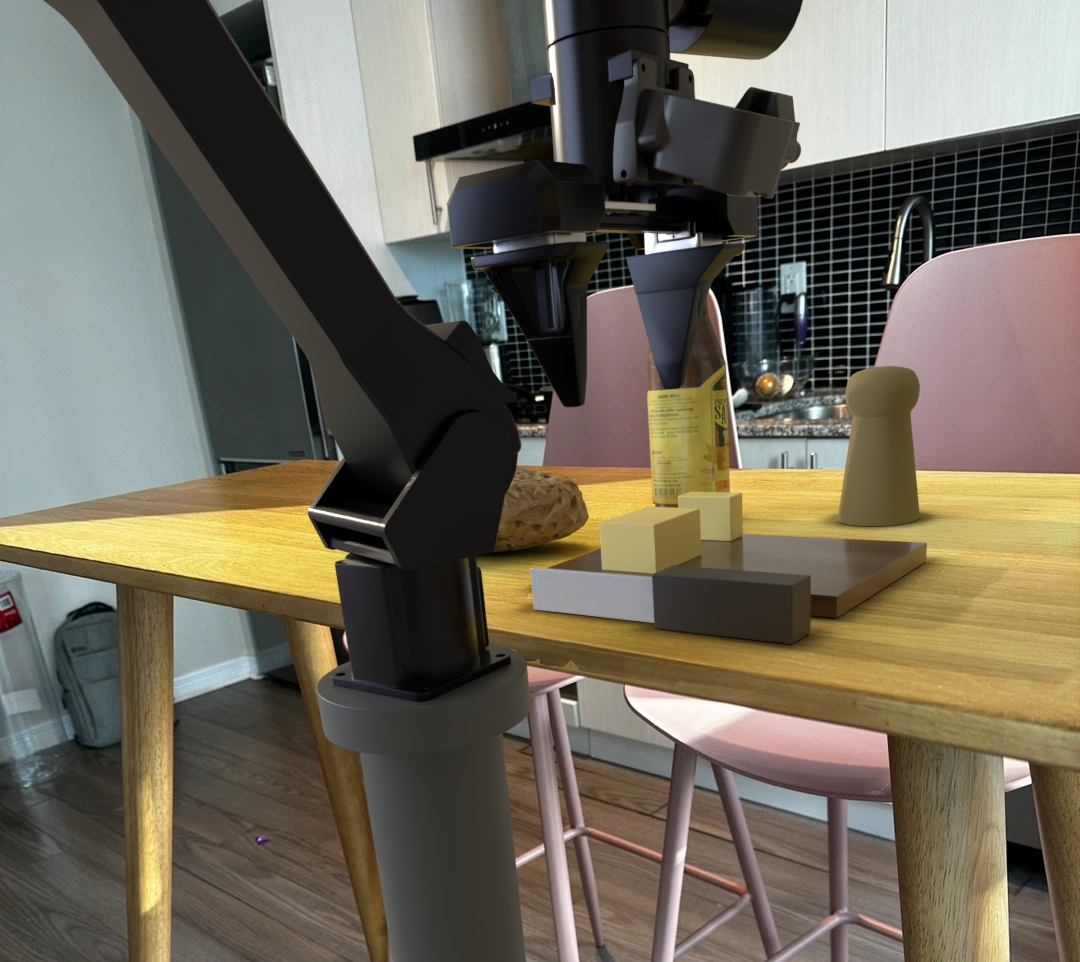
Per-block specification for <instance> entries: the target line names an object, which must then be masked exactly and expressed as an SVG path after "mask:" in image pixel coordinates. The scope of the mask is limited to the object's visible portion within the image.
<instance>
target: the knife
mask: <svg viewBox="0 0 1080 962" xmlns="http://www.w3.org/2000/svg"><path fill="white" fill-rule="evenodd" d="M529 571H530V572H529V573H530V583H531V594H532V603H533V610H536V611H544V612H554V613H562V614H571V615H579V616H588V617H597V618H604V619H605V618H606V619H615V620H623V621H632V622H641V623H650V624H653V626H654V629H659V630H666V631H676V632H684V633H692V634H700V635H709V636H716V637H725V638H726V637H727V638H736V639H743V640H752V641H759V642H760V641H761V642H767V643H768V642H769V643H777V644H786V645H793V644H795V643H796V642H798V641H799V640H801V639H803V638H804V637H806V636H808V635H809V634H811V623H812V621H811V617H812V616H811V576H810V575H798V574H784V573H770V572H757V571H743V570H729V569H716V568H702V567H688V566H675V565H673V566H671V567H668V568H666V569H663V570H661V571H659V572H656V573H654V574H652V577H646V576H634V575H622V574H610V573H598V572H585V571H573V570H561V569H549V568H548V567H536V566H535V567H531V568H530V569H529Z"/></svg>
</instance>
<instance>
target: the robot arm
mask: <svg viewBox="0 0 1080 962" xmlns="http://www.w3.org/2000/svg"><path fill="white" fill-rule="evenodd" d="M42 1H43V2H44V3H46V4H47V5H48V6H50V8H52V9H54V10H55V11H56V12H57V13H58V14H60V15H61V16H62V17H63V18H64V19H65V21H67V22H68V23H69V25H70V26H71V27H72V28H73V29H74V30H75V31H76V32H77V34H78V35H79V36H80V37H81V39H82V40H83V42H84V43H85V45H86V46H87V48H88V49H89V50H90V52H91V53H92V55H93V56H94V57H95V59H96V60H97V62H98V63H99V64H100V66H101V68H102V69H103V70H104V72H105V73H106V75H107V76H108V78H109V79H110V80H111V82H112V83H113V84H114V86H115V87H116V89H117V90H118V92H119V93H120V94H121V96H122V97H123V99H124V100H125V102H126V103H127V104H128V106H129V107H130V108H131V110H132V111H133V112H134V114H135V116H136V117H137V118H138V120H139V121H140V122H141V124H142V125H143V127H144V128H145V130H146V131H147V132H148V134H149V136H150V137H151V138H152V140H153V141H154V143H155V144H156V145H157V147H158V148H159V149H160V151H161V152H162V153H163V155H164V157H165V158H166V160H167V161H168V162H169V164H170V165H171V167H173V169H174V171H175V172H176V174H177V175H178V176H179V178H180V179H181V181H182V182H183V184H184V185H185V186H186V188H187V189H188V191H189V192H190V193H191V195H192V196H193V198H194V199H195V200H196V202H197V204H199V206H200V208H201V209H202V210H203V212H204V213H205V214H206V216H207V217H208V219H209V220H210V221H211V223H212V225H213V226H214V227H215V229H216V231H218V232H219V234H220V236H221V237H222V238H223V240H224V241H225V243H226V244H227V246H228V247H229V248H230V250H231V251H232V253H233V254H234V256H235V257H236V258H237V260H238V261H239V262H240V264H241V266H242V267H243V268H244V270H245V271H246V272H247V274H248V275H249V277H250V278H251V279H252V281H253V282H254V284H255V285H256V287H257V289H259V291H260V293H261V294H262V295H263V297H264V298H265V299H266V301H267V303H268V304H269V305H270V307H271V309H272V310H274V311H273V312H275V313H276V315H277V316H278V318H279V319H280V321H281V323H283V325H284V326H285V328H286V329H287V330H288V332H289V333H290V335H291V336H292V337H293V339H294V341H295V342H296V343H297V345H298V346H299V347H300V349H301V350H302V352H303V354H304V356H305V357H306V359H307V361H308V363H309V365H310V368H311V372H312V375H313V379H314V384H315V387H316V390H317V394H318V398H319V402H320V406H321V410H322V412H323V417H324V420H325V423H326V425H327V427H328V429H329V431H330V433H331V435H332V437H333V439H334V441H335V443H336V445H337V447H338V449H339V451H340V453H341V455H342V459H341V460H340V462H339V463H338V465H337V466H336V468H335V469H334V470H333V472H332V474H331V475H330V476H329V478H328V479H327V481H326V482H325V484H324V485H323V487H322V488H321V490H320V491H319V493H317V496H316V497H315V499H314V500H313V501H312V503H311V504H310V506H309V507H308V510H307V515H308V518H309V521H310V522H311V524H312V526H313V528H314V530H315V531H316V534H317V536H318V537H319V539H320V541H321V543H322V545H323V547H324V548H325V549H328V550H331V551H336V550H337V551H341V552H343V553H347V554H346V555H345V556H344V559H340V560H337V561H335V562H334V569H335V576H336V582H337V588H338V595H339V600H340V607H341V614H342V621H343V627H344V632H345V633H344V634H345V639H346V645H347V651H348V652H347V653H348V658H349V659H348V660H349V661H350V665H351V667H349V668H346V669H344V670H341V671H338V672H336V673H334V674H332V675H331V681H332V685H335V686H340V687H345V688H350V689H355V690H360V691H365V692H370V693H375V694H380V695H385V696H390V697H395V698H401V699H406V700H411V701H416V702H425V701H429V700H432V699H434V698H437V697H439V696H441V695H443V694H445V693H448V692H450V691H452V690H454V689H456V688H459V687H461V686H463V685H465V684H467V683H470V682H472V681H474V680H476V679H478V678H481V677H483V676H485V675H487V674H489V673H492V672H494V671H496V670H498V669H500V668H503V667H505V666H507V665H509V664H511V655H510V654H509V653H505V652H498V651H491V650H486V647H488V646H489V644H490V638H489V630H488V629H489V628H488V619H487V611H486V602H485V591H484V582H483V572H482V568H481V567H480V566H478V562H477V561H478V560H477V557H478V556H482V555H488V554H491V553H494V552H493V550H494V548H495V543H496V538H497V533H498V528H499V523H500V518H501V513H502V508H503V503H504V498H505V493H506V492H507V491H508V490H509V487H510V485H511V482H512V480H513V477H514V475H515V472H516V467H518V466H517V465H518V458H519V453H520V452H521V450H522V446H523V445H522V439H521V434H520V429H519V427H518V425H517V422H516V420H515V418H514V415H513V414H512V411H511V410H510V408H509V407H508V405H506V404H515V403H516V402H517V401H518V395H517V394H516V393H515V392H514V391H512V390H511V389H510V388H508V387H507V386H506V385H505V384H504V383H503V382H502V381H501V380H500V378H499V377H498V375H496V373H495V372H494V370H493V368H492V366H491V364H490V362H489V360H488V357H487V354H486V352H485V350H484V347H483V345H482V342H481V340H480V337H479V336H478V335H477V333H476V332H475V331H474V329H473V327H472V326H471V324H470V323H469V322H468V321H467V320H456V321H449V322H440V323H432V324H424V323H423V322H422V321H421V320H419V319H418V318H417V317H416V316H414V315H413V314H412V313H410V312H409V311H408V310H407V309H406V308H405V307H404V306H403V305H402V303H400V301H399V300H398V298H397V297H396V296H395V294H394V292H393V291H392V289H391V288H390V286H389V285H388V283H387V281H386V280H385V277H383V275H382V273H381V272H380V270H379V268H377V265H376V264H375V263H374V261H373V259H372V258H371V256H370V254H369V253H368V251H367V250H366V248H365V246H364V245H363V243H362V242H361V240H360V238H359V237H358V235H357V234H356V232H355V230H354V229H353V227H352V226H351V223H349V221H348V219H347V218H346V216H345V214H344V213H343V212H342V210H341V208H340V207H339V205H338V203H337V201H336V200H335V198H334V197H333V195H332V194H331V192H330V191H329V189H328V187H327V186H326V185H325V183H324V181H323V180H322V178H321V176H320V175H319V173H318V172H317V170H316V169H315V167H314V165H313V164H312V162H311V161H310V159H309V157H308V156H307V154H306V153H305V151H304V149H303V148H302V146H301V145H300V143H299V142H298V140H297V138H296V136H295V135H294V133H293V132H292V130H291V129H290V127H289V126H288V124H287V122H286V121H285V119H284V118H283V116H282V114H281V112H280V111H279V110H278V108H277V107H276V105H275V103H274V102H273V100H272V98H271V97H270V95H269V94H268V92H267V91H266V89H265V87H264V86H263V84H262V83H261V81H260V80H259V78H258V76H257V75H256V73H255V71H254V70H253V68H252V67H251V65H250V63H249V62H248V60H247V59H246V57H245V55H244V54H243V53H242V51H241V49H240V48H239V46H238V44H237V43H236V41H235V40H234V38H233V36H232V35H231V33H230V32H229V30H228V29H227V27H226V25H225V24H224V22H223V20H222V19H221V17H220V15H219V14H218V13H217V11H216V9H215V8H214V6H213V4H212V3H211V2H210V0H42ZM803 3H804V0H542V8H543V9H542V10H543V11H542V12H543V24H544V36H545V50H546V52H545V53H546V64H547V65H546V66H547V73H545V74H542V75H538V76H534V77H530V78H529V89H530V101H531V104H535V105H539V106H546V107H550V121H551V123H550V124H551V132H552V133H551V135H552V146H553V147H552V148H553V160H546V159H545V160H543V159H535V160H529V161H526V162H521V163H517V164H516V163H515V164H511V165H508V166H504V167H499V168H495V169H491V170H490V169H489V170H486V171H481V172H478V173H477V172H476V173H472V174H467V175H463V176H459V177H458V180H457V182H456V184H455V186H454V188H453V189H452V191H451V193H450V196H449V198H448V200H447V202H446V207H447V209H446V211H447V218H448V219H447V220H448V229H449V237H450V248H451V249H452V250H453V249H456V250H457V249H458V250H465V249H466V250H467V249H468V250H469V249H471V250H482V249H483V250H490V249H492V253H489V254H481V255H474V256H471V257H470V261H471V266H472V268H473V270H481V271H483V273H484V274H485V275H486V277H487V279H488V280H489V282H490V283H491V285H492V286H493V288H494V289H495V292H497V294H498V295H499V297H500V299H501V300H502V302H503V304H504V305H505V307H506V308H507V310H508V311H509V313H510V315H511V316H512V317H513V320H515V323H516V324H517V326H518V327H519V329H520V331H521V333H522V334H523V336H524V338H525V340H526V341H527V343H528V345H529V347H530V349H531V350H532V352H533V354H534V356H535V358H536V360H537V362H539V365H540V366H541V369H542V370H543V373H544V374H545V376H546V378H547V380H548V382H549V383H550V385H551V387H552V390H553V391H554V392H555V394H556V396H557V398H558V400H559V402H560V403H561V405H562V406H563V407H565V408H580V407H583V406H584V405H585V402H586V391H587V380H588V376H587V375H588V287H589V283H590V280H591V279H592V278H593V276H594V274H595V272H596V270H597V269H598V267H599V265H600V263H601V261H602V259H603V258H604V256H605V254H606V252H607V251H608V248H609V247H610V242H609V241H587V234H588V233H604V234H605V233H607V234H609V233H610V234H611V233H612V234H616V233H617V234H626V235H627V237H628V239H629V241H630V243H631V244H632V246H633V248H634V250H644V254H639V255H632V256H626V264H627V267H628V270H629V274H630V278H631V283H632V286H633V289H634V293H635V296H636V301H637V303H638V307H639V311H640V314H641V318H642V322H643V325H644V329H645V334H646V337H647V341H648V345H649V348H651V352H652V356H653V359H654V363H655V366H656V369H657V372H658V374H659V377H660V380H661V383H662V386H663V388H664V389H679V388H681V387H682V386H683V385H684V381H685V377H686V374H687V370H688V366H689V362H690V358H691V354H692V350H693V346H694V342H695V338H696V334H697V331H698V327H699V322H700V319H701V315H702V311H703V308H704V305H705V301H706V298H707V299H708V295H709V292H710V288H711V287H712V283H713V281H714V280H715V278H716V277H717V276H718V275H719V274H720V273H721V272H722V270H724V269H725V267H726V266H727V265H728V264H729V263H730V262H731V261H732V260H733V259H734V257H737V256H738V257H739V256H740V255H741V254H742V253H743V252H744V250H745V248H746V245H747V244H746V243H723V242H728V241H733V240H735V241H736V240H741V239H742V240H743V239H750V238H755V237H758V236H759V211H758V210H759V203H758V202H759V198H758V196H757V195H760V196H762V198H763V199H773V198H774V197H775V193H776V190H777V186H778V182H779V179H780V176H781V173H782V172H781V171H782V170H783V169H785V168H786V167H787V166H788V165H789V164H794V163H795V162H797V161H798V160H799V158H800V157H801V153H802V147H801V144H800V142H799V141H798V134H799V130H800V126H801V123H800V122H799V121H796V115H795V104H794V96H793V95H789V94H787V93H782V92H777V91H771V90H768V89H762V88H759V87H754V86H750V87H748V88H747V89H746V91H745V92H744V93H743V95H742V96H741V98H740V99H739V101H738V102H737V103H736V105H735V107H733V106H729V105H725V104H721V103H716V102H711V101H707V100H704V99H698V98H696V91H695V89H696V86H695V84H696V83H695V75H694V71H692V69H691V68H689V63H686V62H682V61H678V60H675V59H671V54H677V55H689V56H701V57H711V58H722V59H723V58H725V59H735V60H736V59H738V60H748V61H749V60H750V61H751V60H753V61H755V60H756V61H757V60H763V59H766V58H768V57H769V56H770V55H772V54H774V53H775V52H776V51H778V50H779V48H780V47H781V46H782V45H783V44H784V43H785V42H786V41H787V40H788V37H789V36H790V34H791V32H792V31H793V29H794V27H795V25H796V23H797V20H798V18H799V15H800V13H801V11H802V6H803ZM756 194H757V195H756Z"/></svg>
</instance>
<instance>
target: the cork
mask: <svg viewBox="0 0 1080 962" xmlns="http://www.w3.org/2000/svg"><path fill="white" fill-rule="evenodd" d="M920 391H921V385H920V380H919V377H918V375H917V373H916V372H915V371H914V370H913V369H911V368H909V367H904V366H898V365H884V366H883V365H882V366H873V367H869V368H865V369H862V370H859V371H856V372H855V373H853V374H852V375H851V376H850V378H849V379H848V381H847V384H846V388H845V404H846V408H847V410H848V411H849V413H850V414H851V415H852V419H851V427H850V433H849V439H848V446H847V453H846V461H845V465H844V467H845V468H844V473H843V479H842V487H841V493H840V500H839V507H838V514H837V522H839V524H843V525H847V526H848V525H849V526H857V527H887V526H896V525H897V526H898V525H905V524H909V523H913V522H916V521H919V520H920V519H921V514H920V504H919V493H918V482H917V471H916V470H917V469H916V458H915V448H914V437H913V425H912V415H911V413H912V411H913V410H914V409H915V407H916V405H917V404H918V400H919V399H920V398H919V397H920Z"/></svg>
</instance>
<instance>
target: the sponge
mask: <svg viewBox="0 0 1080 962" xmlns="http://www.w3.org/2000/svg"><path fill="white" fill-rule="evenodd" d="M589 519H590V515H589V512H588V507H587V505H586V501H585V500H584V497H583V491H581V490H580V489H579V486H578V484H577V483H575V482H574V480H572V478H569V477H567V476H561V475H556V474H553V473H552V472H545V471H541V470H537V469H528V468H524V467H519V466H517V467H516V472H515V475H514V477H513V480H512V482H511V485H510V487H509V490H508V491H507V492H506V493H505V498H504V503H503V508H502V513H501V518H500V523H499V528H498V533H497V538H496V543H495V548H494V550H493V552H492V553H504V552H510V551H512V552H513V551H520V550H526V549H530V548H534V547H538V546H540V545H545V544H548V543H550V542H553V541H558V540H562V539H565V538H568V537H569V536H571V535H573V534H574V533H575V532H577V531H579V530H581V528H583V527H584V526H585V525H586V524H587V521H588V520H589Z"/></svg>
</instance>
